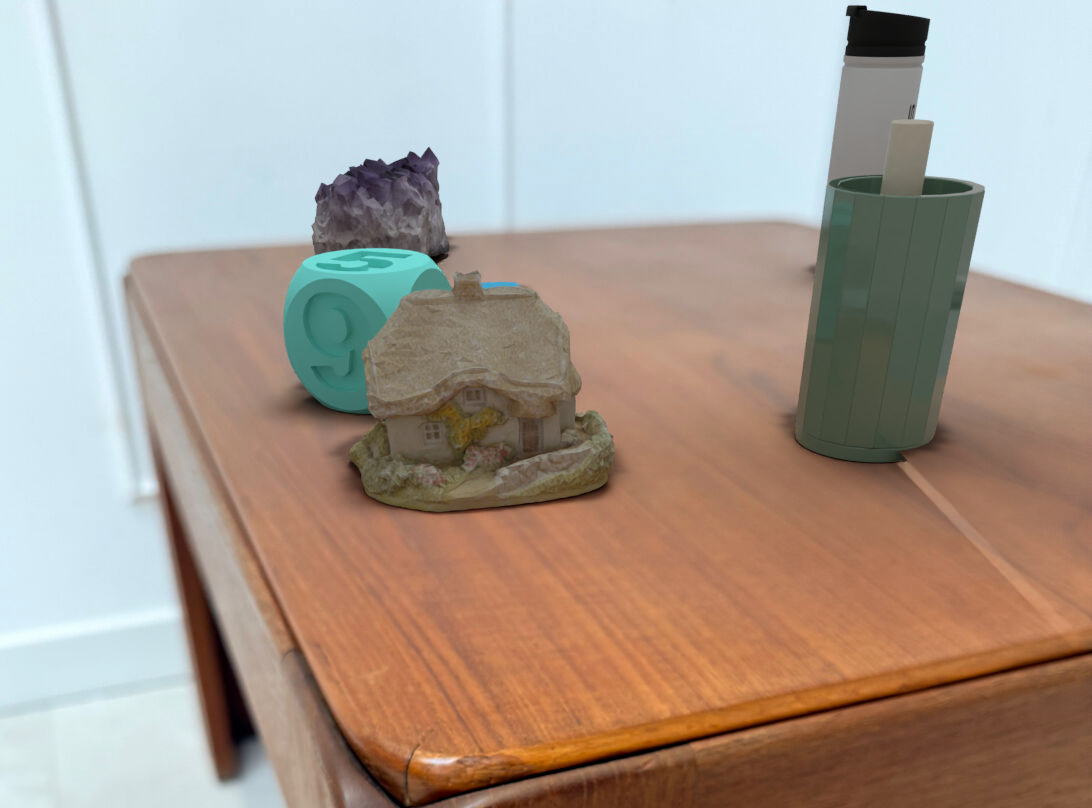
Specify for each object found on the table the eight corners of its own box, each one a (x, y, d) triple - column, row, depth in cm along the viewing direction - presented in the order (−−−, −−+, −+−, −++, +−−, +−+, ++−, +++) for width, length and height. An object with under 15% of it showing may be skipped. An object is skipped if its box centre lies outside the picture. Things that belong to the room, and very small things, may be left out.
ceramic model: (339, 516, 54) (314, 302, 48) (353, 440, 63) (334, 252, 57) (622, 506, 54) (631, 294, 49) (596, 432, 64) (601, 246, 58)
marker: (880, 415, 63) (933, 117, 55) (899, 434, 60) (957, 123, 52) (826, 417, 63) (870, 118, 54) (842, 436, 60) (891, 125, 52)
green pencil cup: (904, 416, 66) (950, 173, 58) (953, 460, 59) (1011, 195, 52) (779, 420, 65) (809, 176, 58) (815, 465, 59) (854, 198, 51)
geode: (355, 239, 114) (359, 130, 108) (463, 258, 113) (473, 149, 108) (291, 272, 97) (292, 145, 91) (417, 294, 96) (426, 168, 91)
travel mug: (800, 273, 98) (833, 4, 87) (868, 269, 99) (910, 3, 88) (827, 288, 93) (867, 5, 82) (899, 284, 94) (948, 4, 83)
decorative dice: (461, 384, 72) (456, 252, 67) (405, 421, 66) (394, 279, 61) (355, 371, 74) (342, 244, 70) (291, 406, 68) (272, 269, 63)
